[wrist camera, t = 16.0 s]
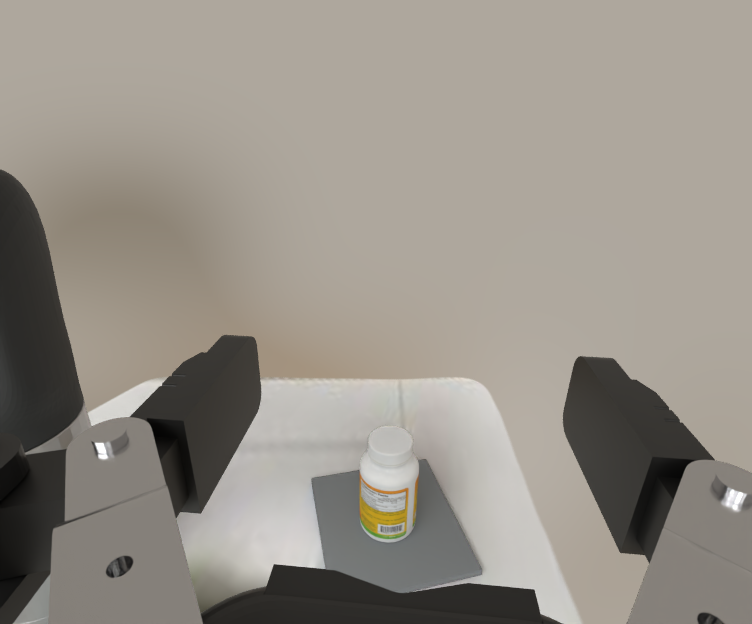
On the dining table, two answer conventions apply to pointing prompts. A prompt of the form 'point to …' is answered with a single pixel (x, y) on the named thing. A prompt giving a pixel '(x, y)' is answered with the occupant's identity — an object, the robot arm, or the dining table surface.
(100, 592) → the robot arm
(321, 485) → the mat
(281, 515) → the dining table surface
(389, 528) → the supplement bottle
